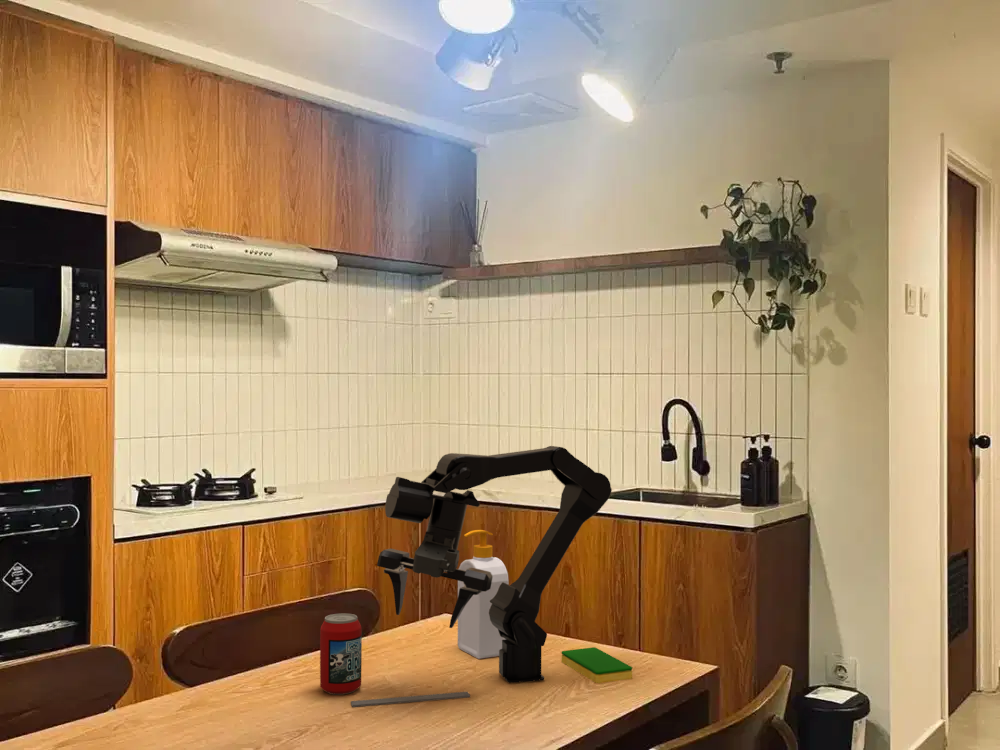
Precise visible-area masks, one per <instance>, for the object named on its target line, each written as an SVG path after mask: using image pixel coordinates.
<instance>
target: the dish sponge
mask: <svg viewBox="0 0 1000 750" xmlns="http://www.w3.org/2000/svg"><path fill="white" fill-rule="evenodd" d="M561 663H562V664H564V665H565V666H567V667H569V668H570V669H572V670H573V671H576V672H577V673H578V674H581V675H582V676H583V677H585V678H587V679H588V680H591V681H592V682H594V683H596V684H603V683H610V682H618V681H625V680H626V681H627V680H632V679H633V666H631V665H629V664H627V663H625V662H624V661H622V660H620V659H617V658H616V657H614V656H612V655H611V654H609V653H607V652H605V651H603V650H601V649H599V648H597V647H596V646H594V647H584V648H577V649H570V650H562V651H561Z"/></svg>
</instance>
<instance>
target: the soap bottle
mask: <svg viewBox="0 0 1000 750" xmlns="http://www.w3.org/2000/svg"><path fill="white" fill-rule="evenodd" d="M476 534H479V544H474V545H473V556H472V558H471V559H470V558H469V559H465V560H463V561H462V562H461V563H460V565H459V567H458V569H460V570H464V571H466V570H467V569H469V568H471V567H472V568H476V569H480V570H484V571H488V572H491V574H492V576H493V577H492V583H491V588H490V589H489V590H487V591H486V592H485V591H482V592H481V593H479V594H478V595H473V596H472V597H471V599H470V600H469V601H468V603H467V604H466V605H465V607H464V609H463V610H462V612H461V614H460V616H459V617H458V619H457V647H458V649H459V650H461V651H463V652H465V653H466V654H468V655H470V656H472V657H474V658H475V659H477V660H481V659H488V658H493V657H494V658H495V657H499V650H500V649H502V640H506V639H505V638H503V637H501V636H500V634H499V631H498V629H497V628H496V627H495V626H494V625H492V623H491V621H490V616H489V609H490V607H491V605H492V603H490V600H491V599H493V598H494V596H495V595H496V594H497V591H498V589H499V587H500V585H501V584H502V583H503V582H504V583H506V584H508V585H510V584H509V581H510V580H509V572H508V570H507V568H506V565H505V564H504V562H503V561H502V560H501V559H500V558H498V557H495V556H494V557H493V545H491V544H487V538H488V537H487V535H489V536H493V533H492V532H490V531H488V530H483V529H475V530H470V531H469V532H467V533H465V534H463V536H464V537H465V538H468V537H471V536H472V535H476ZM462 587H464V582H462V581H458V580H457V596H458V595H459V590H460V588H462Z"/></svg>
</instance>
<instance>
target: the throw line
mask: <svg viewBox="0 0 1000 750" xmlns="http://www.w3.org/2000/svg"><path fill="white" fill-rule="evenodd" d="M465 698H466V699H467V698H471V695H470V693H469V692H468V691H459V692H458V691H457V692H446V693H445V692H444V693H433V694H420V695H410V696H409V695H408V696H407V695H406V696H398V697H397V696H395V697H385V698H374V699H373V698H372V699H371V698H370V699H361V700H351V701H350V705H351V708H356V707H357V708H358V707H360V708H361V707H369V706H380V705H381V706H382V705H394V704H405V703H417V702H427V701H428V702H430V701H441V700H451V699H452V700H453V699H465Z"/></svg>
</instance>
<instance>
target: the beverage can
mask: <svg viewBox="0 0 1000 750" xmlns="http://www.w3.org/2000/svg"><path fill="white" fill-rule="evenodd" d="M362 628H363V627H362V625H361V623H360V621H359V619H358V616H357V615H356V614H352V613H334V614H333V613H331V614H328V615H326V616H325V617H324V620H323V623H322V624H321V626H320V632H319V633H320V634H319V635H320V639H319V650H320V651H319V673H320V674H319V679H320V682H319V686H320V688H321V689H322V690H323V691H325V692H326V693H328V694H330V695H336V696H337V695H347V694H348V695H349V694H351V693H354V692H355V691H356V690H358V689H359V688H360V687H361V686H362V664H363V663H362V661H363V660H362V649H363V647H362V645H363V644H362V643H363V642H362V641H363V639H362V635H363V634H362Z"/></svg>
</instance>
